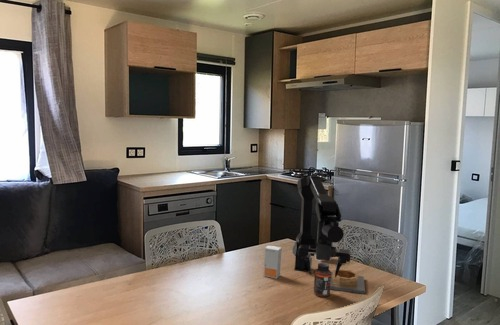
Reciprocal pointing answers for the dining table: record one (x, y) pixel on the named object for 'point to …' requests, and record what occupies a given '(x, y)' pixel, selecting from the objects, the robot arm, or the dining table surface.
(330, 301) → the dining table surface
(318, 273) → the supplement bottle
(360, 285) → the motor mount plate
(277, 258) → the skincare box
